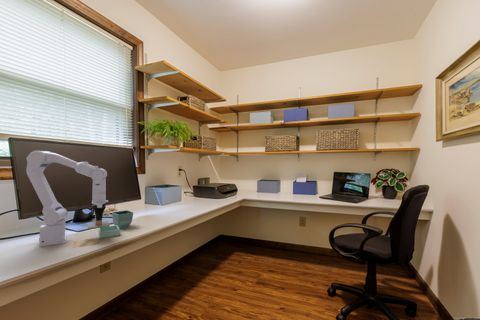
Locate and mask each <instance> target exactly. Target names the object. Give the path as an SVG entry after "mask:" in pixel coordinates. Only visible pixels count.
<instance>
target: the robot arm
mask: <svg viewBox="0 0 480 320" xmlns="http://www.w3.org/2000/svg"><path fill="white" fill-rule="evenodd" d="M25 159H26V161H27V162H26V163H27V164H26V170H25V172H26V175H27V177H28V179H29V181H30V182H31V184H32V187H33V189H34V190H35V193H36V194H37V195H36V196H37V197H38V199H39V201H40V203H41V204H42V206H43V208H42V210H41V211H42V215H43V217H42V219H43V222H44V224H41V225H40V226H39V238H38V241H39V245H38V246H39V247H44V246H45V247H46V246H51V245H52V246H53V245H58V244H64V243H66V242H67V236H66V218H67V217H68V213H69V212H68V210H67V209H66V208H65V207H63V205H62V204H61V203H60V202H59V201H58V200H57V198H56V197H55V195H54V192H53V190H52V188H51V185H50V184H49V182H48V180H47V178H46V176H45V174H44V171H45V170H46V168H47V167H48V166H49V165H51V164H52V163H57V164H60V165H63V166H66V167H69V168H72V169H74V170H75V172H76V173H78V174H81V175H83V176H87V177H89V178H91V179H92V196H91V199H92V200H91V204H92V210H93V211H94V215H95V216H96V220H97V221H99V220H102V221H103V215H104V211H105V210H106V208H107V205H106V204H107V203H109V200H108V199H107V195H106V194H107V193H106V192H107V183H106V182H107V176H108V172H107V170H106V169H104V168H101V167H99V166H98V165H92V164H90V163H89V162H88V161H80V162H78V161H75V160H73V159H70V158H68V157H66V156H63V155H61V154H59V153H55V152H52V151H48V150H33V151H31V152H30V153H29V154H28V155H27V156H26V158H25ZM95 216H94V217H95Z"/></svg>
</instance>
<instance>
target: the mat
mask: <svg viewBox="0 0 480 320" xmlns="http://www.w3.org/2000/svg"><path fill="white" fill-rule="evenodd" d="M99 244H100V241H99V236H97V237H92V238H91V237H90V238H86V239H79V240H78V239H77V240H74V241H73V243H72V245H73V246H72V249H75V248H81V247H87V246H88V247H89V246H93V245H99Z"/></svg>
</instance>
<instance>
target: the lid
mask: <svg viewBox="0 0 480 320" xmlns="http://www.w3.org/2000/svg"><path fill="white" fill-rule="evenodd" d="M94 217H95V219H94V222H87V230H93V229H94V230H95V229H98V228H104V227H110V226H111V224H110V222H109V220H105V221H103V219H102V220H99V221H97V220H96V216H94Z"/></svg>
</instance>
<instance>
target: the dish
mask: <svg viewBox="0 0 480 320" xmlns="http://www.w3.org/2000/svg"><path fill="white" fill-rule="evenodd" d="M97 229H98V230H97V233H98V240H99V239H100V240H101V239H105V238H112V237H113V238H114V237H118V236H120V233H121V229H119V227H118V225H110V227H104V228H97Z"/></svg>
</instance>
